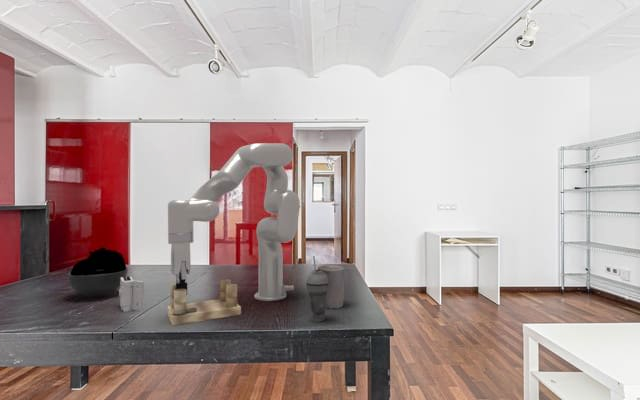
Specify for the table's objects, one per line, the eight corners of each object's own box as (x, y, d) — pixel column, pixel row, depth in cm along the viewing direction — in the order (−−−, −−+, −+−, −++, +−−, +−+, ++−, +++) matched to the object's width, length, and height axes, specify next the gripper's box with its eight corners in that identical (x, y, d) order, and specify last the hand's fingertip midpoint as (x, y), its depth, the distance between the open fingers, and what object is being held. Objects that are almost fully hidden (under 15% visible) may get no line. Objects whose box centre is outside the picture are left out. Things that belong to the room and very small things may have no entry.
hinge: (143, 310, 114) (144, 281, 114) (126, 314, 110) (126, 284, 110) (129, 302, 123) (130, 275, 123) (113, 305, 119) (113, 277, 119)
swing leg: (195, 309, 106) (195, 286, 107) (197, 312, 103) (198, 289, 103) (172, 312, 103) (173, 289, 103) (174, 315, 100) (174, 292, 100)
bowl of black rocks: (106, 303, 122) (107, 252, 122) (53, 303, 122) (54, 252, 123) (137, 290, 142) (138, 246, 142) (91, 289, 142) (92, 246, 143)
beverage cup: (326, 324, 100) (326, 258, 101) (303, 322, 102) (303, 257, 102) (330, 316, 108) (330, 255, 108) (308, 315, 109) (309, 254, 110)
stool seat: (230, 304, 121) (230, 278, 121) (240, 314, 110) (241, 285, 110) (167, 313, 110) (167, 285, 110) (172, 325, 99) (172, 293, 99)
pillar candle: (311, 305, 120) (312, 264, 120) (329, 299, 127) (329, 260, 127) (331, 311, 113) (332, 267, 114) (349, 305, 121) (349, 264, 121)
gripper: (165, 237, 111) (166, 291, 111) (170, 241, 98) (171, 303, 98) (189, 235, 115) (190, 288, 115) (197, 239, 102) (198, 299, 102)
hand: (181, 295), depth 106 cm, fingers closed
